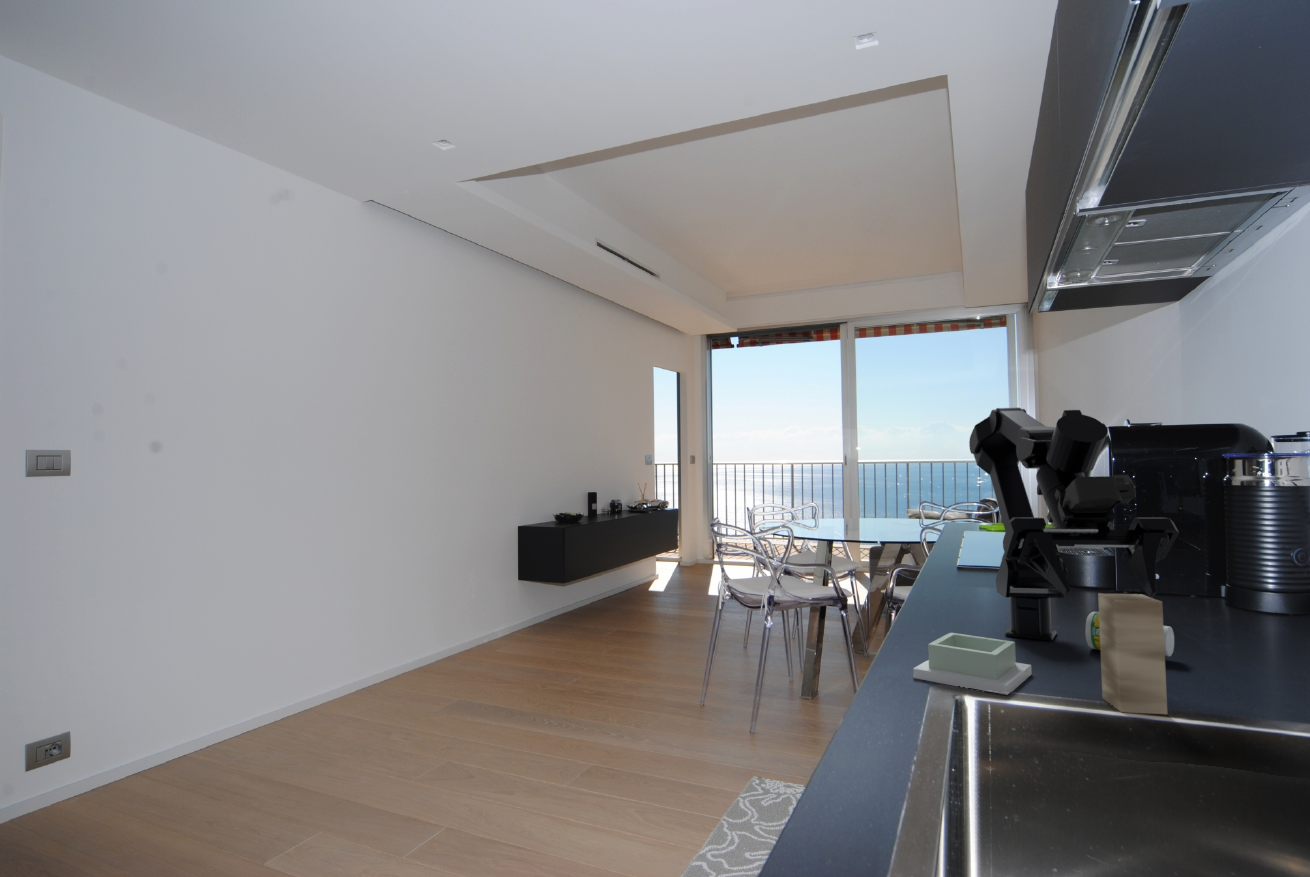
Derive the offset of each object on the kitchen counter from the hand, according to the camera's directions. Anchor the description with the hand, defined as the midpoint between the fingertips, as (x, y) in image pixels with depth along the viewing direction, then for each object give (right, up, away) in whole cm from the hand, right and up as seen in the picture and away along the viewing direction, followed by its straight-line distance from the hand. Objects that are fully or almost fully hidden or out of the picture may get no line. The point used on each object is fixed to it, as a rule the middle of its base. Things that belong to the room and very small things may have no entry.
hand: (1109, 593), depth 82 cm
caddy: (-13, -12, +6) cm, 19 cm away
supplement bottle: (+10, -10, +19) cm, 24 cm away
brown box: (-1, -11, -5) cm, 13 cm away
